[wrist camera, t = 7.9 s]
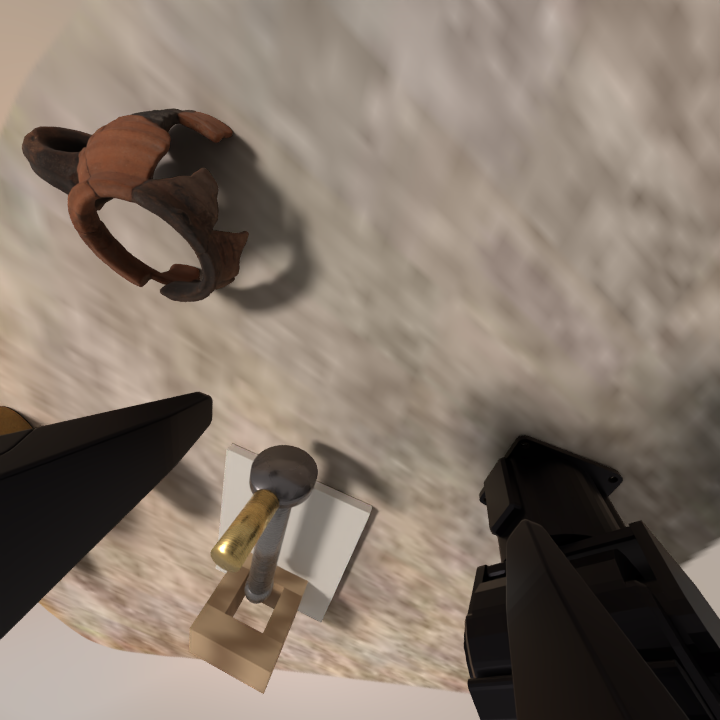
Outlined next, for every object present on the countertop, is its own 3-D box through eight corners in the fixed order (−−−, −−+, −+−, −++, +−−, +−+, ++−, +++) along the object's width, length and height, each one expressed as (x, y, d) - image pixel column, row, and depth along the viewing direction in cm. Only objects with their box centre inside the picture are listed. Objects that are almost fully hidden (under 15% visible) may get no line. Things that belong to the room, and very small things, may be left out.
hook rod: (328, 456, 23) (266, 570, 15) (290, 578, 31) (237, 694, 23) (274, 433, 23) (188, 531, 16) (250, 559, 31) (185, 665, 24)
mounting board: (372, 506, 26) (370, 513, 26) (323, 614, 35) (321, 622, 35) (232, 443, 28) (226, 449, 27) (220, 561, 37) (215, 568, 36)
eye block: (308, 581, 32) (270, 673, 25) (299, 604, 34) (263, 693, 28) (242, 548, 33) (189, 628, 26) (238, 572, 35) (189, 652, 29)
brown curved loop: (284, 128, 17) (221, 199, 13) (275, 258, 25) (234, 333, 20) (59, 36, 16) (-109, 78, 11) (123, 205, 23) (40, 272, 19)
